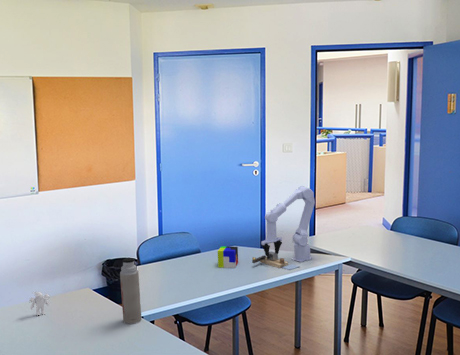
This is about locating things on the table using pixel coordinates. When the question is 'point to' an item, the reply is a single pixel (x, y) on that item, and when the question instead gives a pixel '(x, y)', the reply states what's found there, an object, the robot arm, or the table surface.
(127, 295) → the thermos bottle
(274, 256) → the lever cap
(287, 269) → the mat
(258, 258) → the lever
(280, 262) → the plane body
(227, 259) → the puzzle toy
